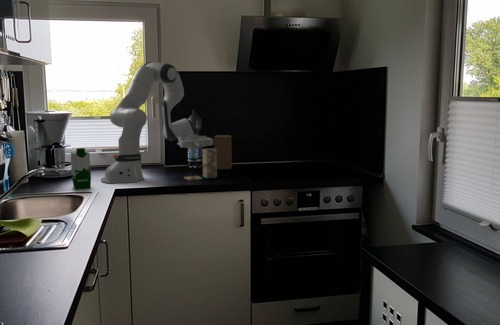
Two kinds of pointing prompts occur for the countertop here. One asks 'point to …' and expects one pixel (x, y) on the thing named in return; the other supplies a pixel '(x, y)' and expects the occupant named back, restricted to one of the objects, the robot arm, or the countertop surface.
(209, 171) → the tall oak block
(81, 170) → the milk carton
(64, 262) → the countertop surface
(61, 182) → the countertop surface
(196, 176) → the cork trivet
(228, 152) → the wooden block
